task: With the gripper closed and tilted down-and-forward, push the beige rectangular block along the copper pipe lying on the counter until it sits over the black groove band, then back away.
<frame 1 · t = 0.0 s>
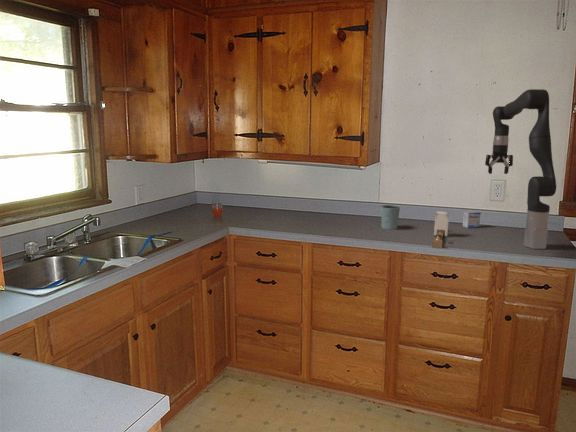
hand: (498, 173, 276), 29 cm above the worktop, tool pointing down, fingers open, 8 cm apart
medicine box: (470, 227, 279), on the worktop
grey-green cup: (389, 228, 275), on the worktop
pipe: (439, 238, 252), on the worktop
beige rectangular block: (441, 223, 258), point 6 cm above the worktop, slide at -7.0 cm
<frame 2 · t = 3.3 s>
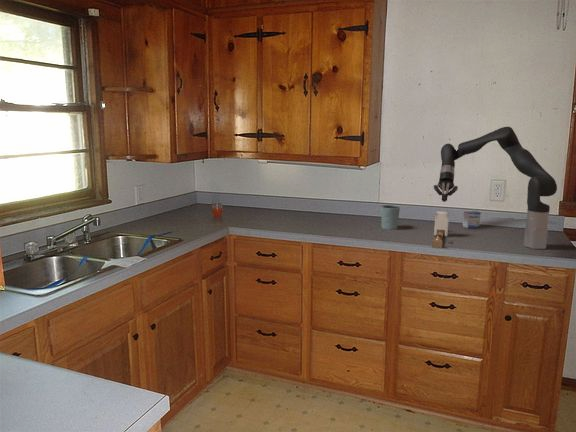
hand: (444, 200, 268), 16 cm above the worktop, tool tilted 45°, fingers closed
nothing on the worktop moved.
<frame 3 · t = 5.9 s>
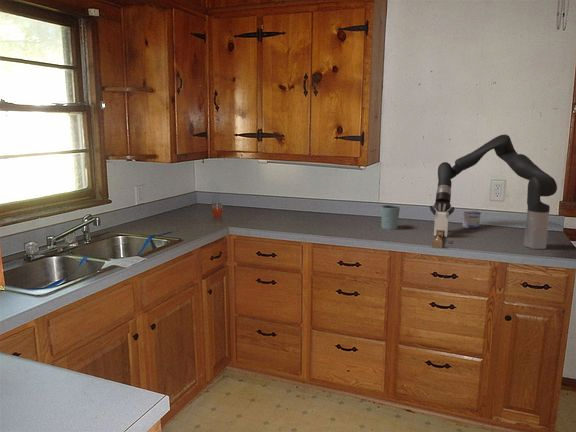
hand: (440, 222, 259), 6 cm above the worktop, tool tilted 45°, fingers closed
beige rectangular block: (441, 224, 256), point 6 cm above the worktop, slide at -5.6 cm, touching gripper
everything else where it was.
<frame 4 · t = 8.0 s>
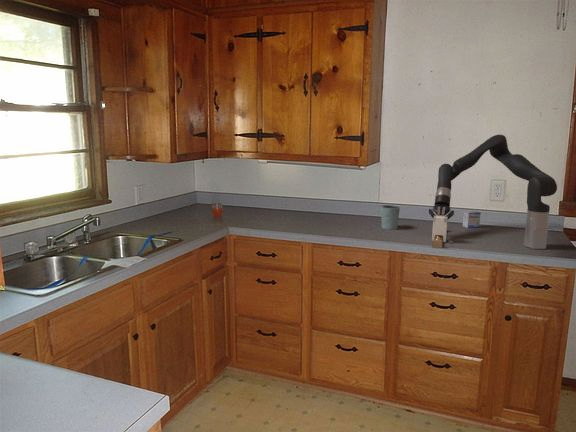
hand: (439, 226, 249), 7 cm above the worktop, tool tilted 45°, fingers closed
beige rectangular block: (439, 228, 246), point 6 cm above the worktop, slide at 5.6 cm, touching gripper
everything else where it was.
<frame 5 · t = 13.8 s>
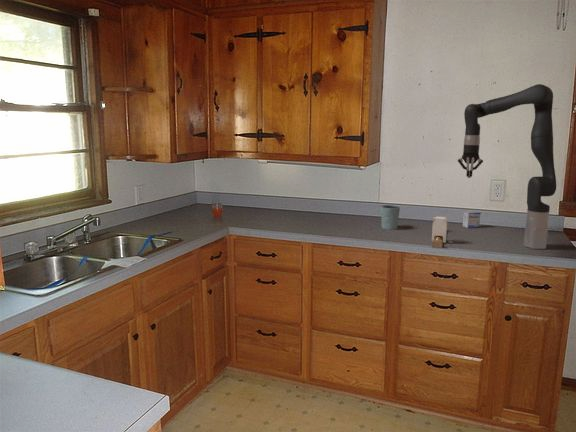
hand: (469, 177, 261), 29 cm above the worktop, tool pointing down, fingers closed
beige rectangular block: (439, 229, 245), point 6 cm above the worktop, slide at 7.1 cm
everything else where it was.
at the end: beige rectangular block slide at 7.1 cm; beige rectangular block touching nothing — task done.
